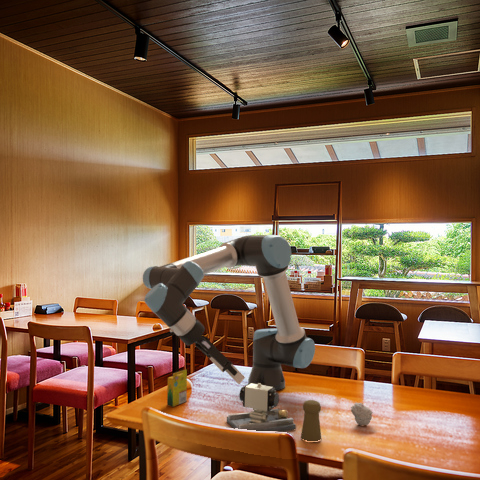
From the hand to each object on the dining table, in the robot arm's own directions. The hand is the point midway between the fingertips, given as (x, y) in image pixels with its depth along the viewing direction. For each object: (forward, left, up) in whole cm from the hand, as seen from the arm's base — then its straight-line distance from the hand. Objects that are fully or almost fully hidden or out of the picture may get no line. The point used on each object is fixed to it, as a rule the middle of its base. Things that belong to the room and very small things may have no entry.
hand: (233, 374), depth 138 cm
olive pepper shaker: (-20, +14, -17) cm, 29 cm away
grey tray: (-10, 0, -17) cm, 19 cm away
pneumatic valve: (-9, 0, -15) cm, 18 cm away
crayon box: (+10, -28, -17) cm, 35 cm away
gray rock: (-41, +10, -17) cm, 45 cm away
